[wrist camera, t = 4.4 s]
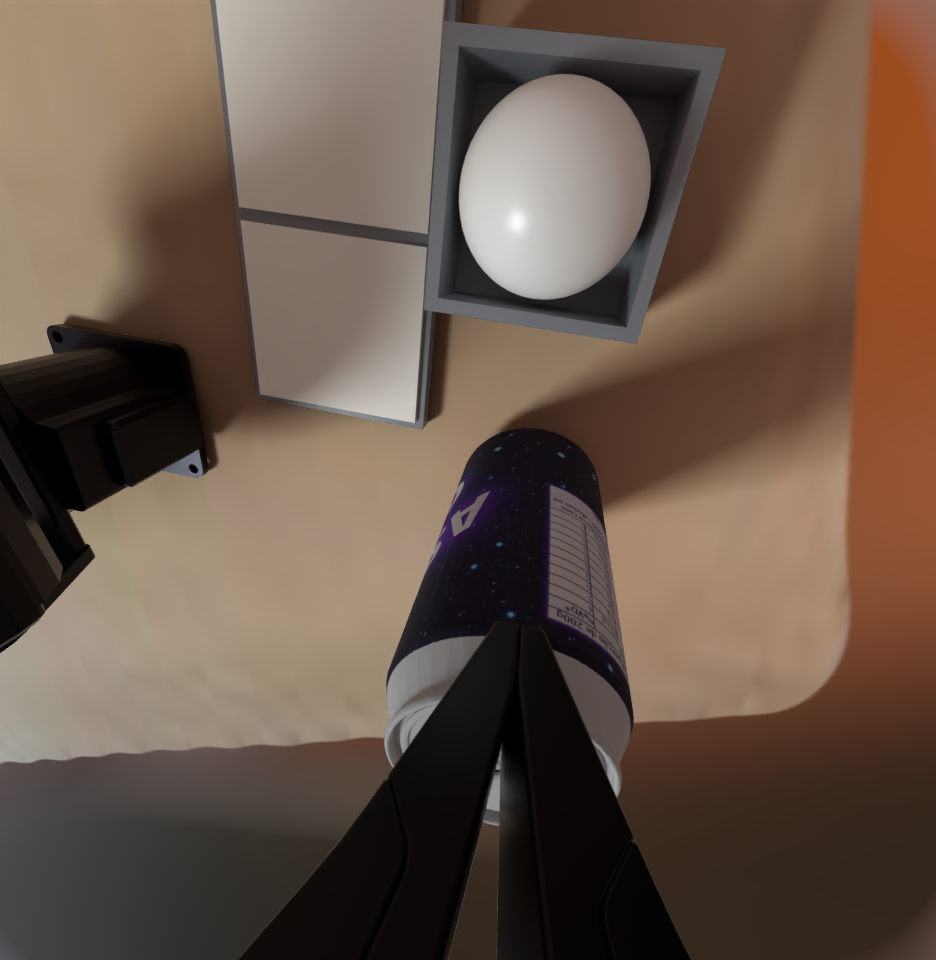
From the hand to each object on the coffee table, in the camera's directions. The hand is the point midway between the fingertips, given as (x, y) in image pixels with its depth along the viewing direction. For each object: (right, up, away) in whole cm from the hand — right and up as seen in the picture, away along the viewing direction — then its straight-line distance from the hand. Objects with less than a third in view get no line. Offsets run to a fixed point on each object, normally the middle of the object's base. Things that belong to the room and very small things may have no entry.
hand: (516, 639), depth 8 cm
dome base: (+2, +12, +6) cm, 14 cm away
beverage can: (+2, +3, +11) cm, 12 cm away
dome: (+2, +11, +5) cm, 13 cm away
